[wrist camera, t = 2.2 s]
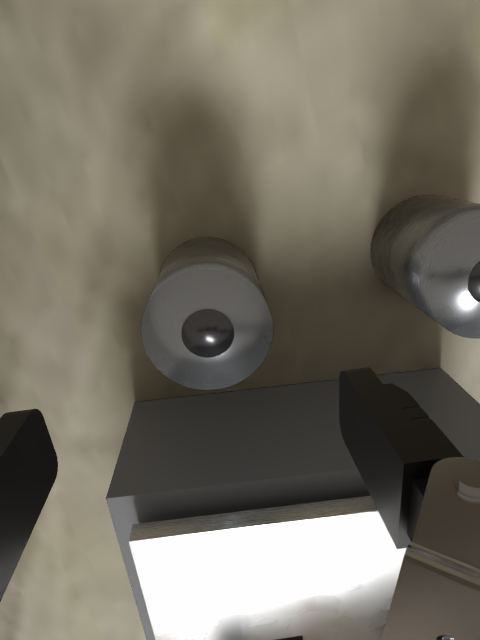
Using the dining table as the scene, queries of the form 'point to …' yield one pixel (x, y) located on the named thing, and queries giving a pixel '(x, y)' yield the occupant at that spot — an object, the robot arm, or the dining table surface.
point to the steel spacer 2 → (433, 259)
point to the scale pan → (269, 573)
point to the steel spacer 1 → (207, 316)
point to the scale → (256, 452)
